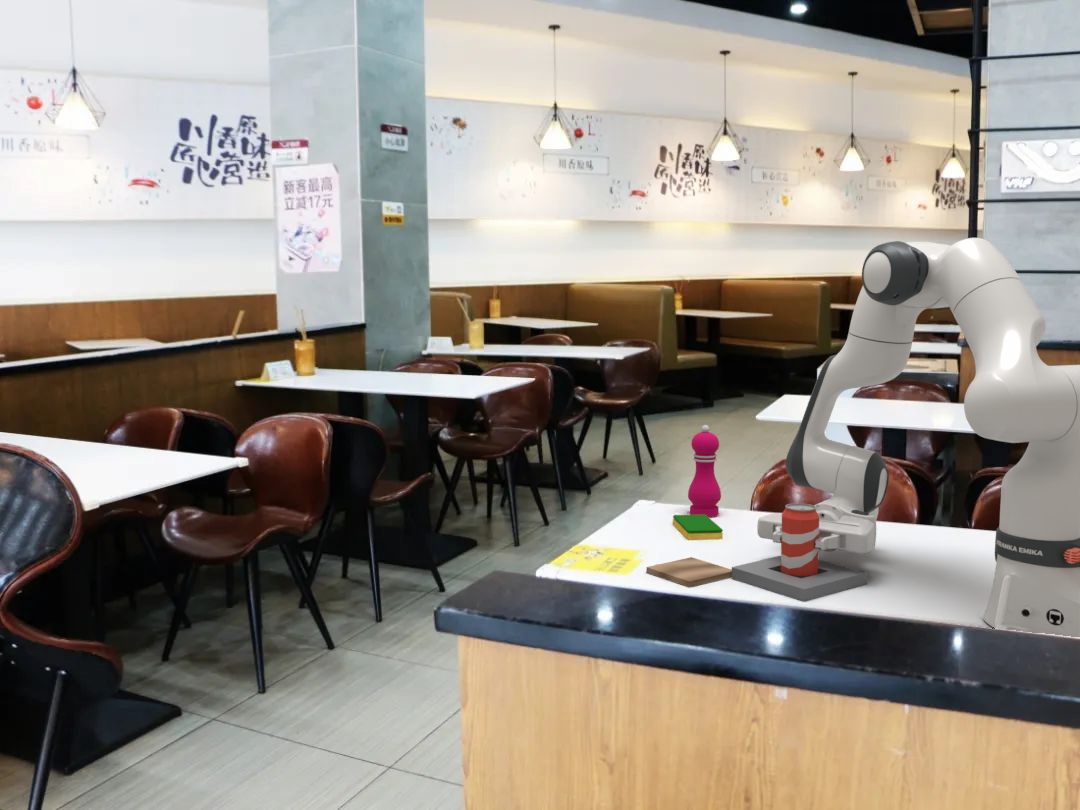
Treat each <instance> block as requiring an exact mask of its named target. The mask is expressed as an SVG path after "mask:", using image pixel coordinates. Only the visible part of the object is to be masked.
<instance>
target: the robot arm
mask: <svg viewBox="0 0 1080 810" xmlns="http://www.w3.org/2000/svg"><path fill="white" fill-rule="evenodd" d="M861 281H862V286H861V289H860V291H859V294H858V296H857V300H856V303H855V305H854V309H853V312H852V316H851V320H850V324H849V329H848V334H847V338H846V340H845V343H844V345H843V346H842V348H841V349H840V351H839V352H838V353H837V354H834V355H830V356H829V357H828V358H827V360H826V361H825V363H823V366H822V367H821V369H820V372H819V374H818V376H817V379H816V381H815V384H814V387H813V389H812V392H811V394H810V397H809V400H808V403H807V405H806V408H805V411H804V414H803V416H802V420H801V422H800V424H799V428H798V430H797V433H796V435H795V436H794V439H793V440H792V442H791V443H792V444H791V445H790V448H789V450H788V452H787V455H786V457H785V458H786V459H785V465H784V466H785V470H786V472H787V474H788V475H789V477H790V478H791V481H792V482H793V483H794V484H795V485H797V486H799V487H803V488H809V489H814V490H815V489H816V490H819V491H824V492H826V493H829V494H833V496H832V497H830V498H829V499H826V500H823V501H820V502H818V503H816V504H814V505H813V506H815V507H816V512H817V514H818V516H819V538H817V539H816V541H815V543H816V545H815V548H816V549H818V551H822V552H834V551H844V552H850V553H856V554H869V553H870V552H872V551H874V550H875V547H876V543H877V542H876V541H877V519H878V515H879V507H880V506H881V505H882V504H883V502H884V499H885V496H886V494H887V492H888V491H887V490H888V486H889V480H890V478H889V477H890V476H889V469H888V466H887V465H886V463H885V460H884V459H883V456H882V455H881V454H880V453H879V452H877V451H873V450H869V449H866V448H862V447H859V446H855V445H850V444H846V443H843V442H839V441H836V440H832V439H829V438H827V436H826V434H825V432H826V429H827V426H828V423H829V422H830V418H831V415H832V414H833V410H834V407H835V405H836V402H837V399H838V398H839V396H840V395H841V394H842V393H843V392H845V391H848V390H852V389H857V388H858V389H859V388H866V387H871V386H877V385H881V384H885V383H887V382H890V381H892V380H894V379H896V377H898V376H899V375H900V374H901V373H902V372H903V371H904V370H905V368H906V366H907V364H908V361H909V358H910V355H911V352H912V345H913V340H914V334H915V328H916V323H917V319H918V317H919V316H920V314H921V313H922V312H923V311H924V310H927V309H934V310H936V311H942V310H943V311H945V310H949V309H950V311H951V313H952V314H953V317H954V319H955V321H956V323H957V325H958V326H959V328H960V330H961V332H962V335H963V336H964V338H965V341H966V342H967V345H968V346H969V348H970V350H971V351H970V352H971V353H972V356H973V359H974V363H975V365H974V366H975V374H974V375H975V376H974V378H973V380H972V381H971V382H970V383H969V385H968V387H967V389H966V392H965V395H964V401H963V410H964V414H965V415H964V416H965V418H966V421H967V422H968V424H969V426H970V428H971V430H972V431H973V432H974V433H975V434H976V435H978V436H979V437H982V438H984V439H987V440H993V441H997V442H1004V443H1010V444H1016V443H1017V444H1020V443H1028V446H1027V447H1026V450H1025V452H1024V453H1023V455H1022V457H1021V458H1020V459H1019V461H1018V462H1017V463H1015V464H1014V466H1013V467H1011V468H1010V469H1009V470H1008V471H1007V472H1006V473H1005V475H1004V476H1003V478H1002V481H1001V487H1000V488H1001V489H1000V490H1001V491H1000V504H999V505H1000V506H999V507H1000V509H999V526H998V527H997V528H996V530H995V540H994V541H995V542H994V559H995V562H996V564H995V570H994V576H993V580H992V581H993V582H992V586H991V591H990V595H989V597H988V600H987V601H988V602H987V605H986V608H985V610H984V612H983V615H982V619H983V621H985V622H986V624H988V625H989V626H991V627H992V628H993V627H994V628H998V629H1005V630H1016V631H1023V632H1032V633H1045V634H1055V635H1063V636H1071V637H1080V364H1068V365H1066V364H1065V365H1048V364H1046V363H1045V361H1043V360H1042V359H1041V357H1040V356H1039V354H1038V349H1037V346H1038V345H1039V344H1040V343H1041V341H1042V338H1043V336H1044V335H1045V332H1046V327H1047V325H1046V321H1045V318H1044V316H1043V314H1042V313H1041V310H1040V309H1039V308H1038V305H1037V304H1036V302H1035V300H1034V299H1033V296H1031V294H1030V291H1028V288H1027V287H1026V285H1025V283H1024V282H1023V281H1022V279H1021V276H1019V274H1018V273H1017V271H1016V270H1015V269H1014V267H1013V266H1012V265H1011V263H1010V262H1009V260H1008V259H1007V258H1006V257H1005V256H1004V255H1003V254H1002V252H1001V251H1000V250H999V249H998V248H997V247H996V246H995V245H994V244H993V243H992V242H990V241H989V240H986V239H984V238H981V237H968V238H964V239H961V240H959V241H956V242H955V243H953V244H946V243H940V242H939V243H938V242H932V241H904V242H903V241H899V240H897V241H894V240H893V241H888V242H885V243H881V244H878V245H876V246H875V247H873V248H872V249H871V250H870V251H869V252H868V253H867V255H866V257H865V259H864V261H863V264H862V269H861ZM782 513H783V512H775V513H771V514H767V515H763V516H761V517H759V518H758V519H757V525H756V526H757V536H758V537H759V538H761V539H764V540H765V539H766V540H772V543H774V544H776V543H777V544H781V531H782ZM994 628H993V629H994Z"/></svg>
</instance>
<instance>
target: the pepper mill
mask: <svg viewBox="0 0 1080 810" xmlns="http://www.w3.org/2000/svg"><path fill="white" fill-rule="evenodd" d="M719 447H720V441H719V438H718V437H717V435H716V434H714V433H712V432H710V426H709V425H707V424H704V425H702V426H701V431H700V432H698V433H696V434H694V436H693V437H692V439H691V448H692V450H693V452H694V453H693V462H694V461H695V462H694V463H695V474H694V476H693V478H692V482H691V483H690V485H689V487H688V492H687V494H688V495H687V498H688V500H689V501H690V503H691V505H690V506H689V515H702V514H704V515H706V516H708V517H709V518H715V517H718V516H719V512H720V511H719V510H720V509H719V508H720V507H719V506H718V505H717V504H718V503H719V501H721V498H722V491H721V487H720V485H719V482H718V479H717V478H716V476H715V462H717V454H716V453H717V451H718V450H719Z"/></svg>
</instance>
